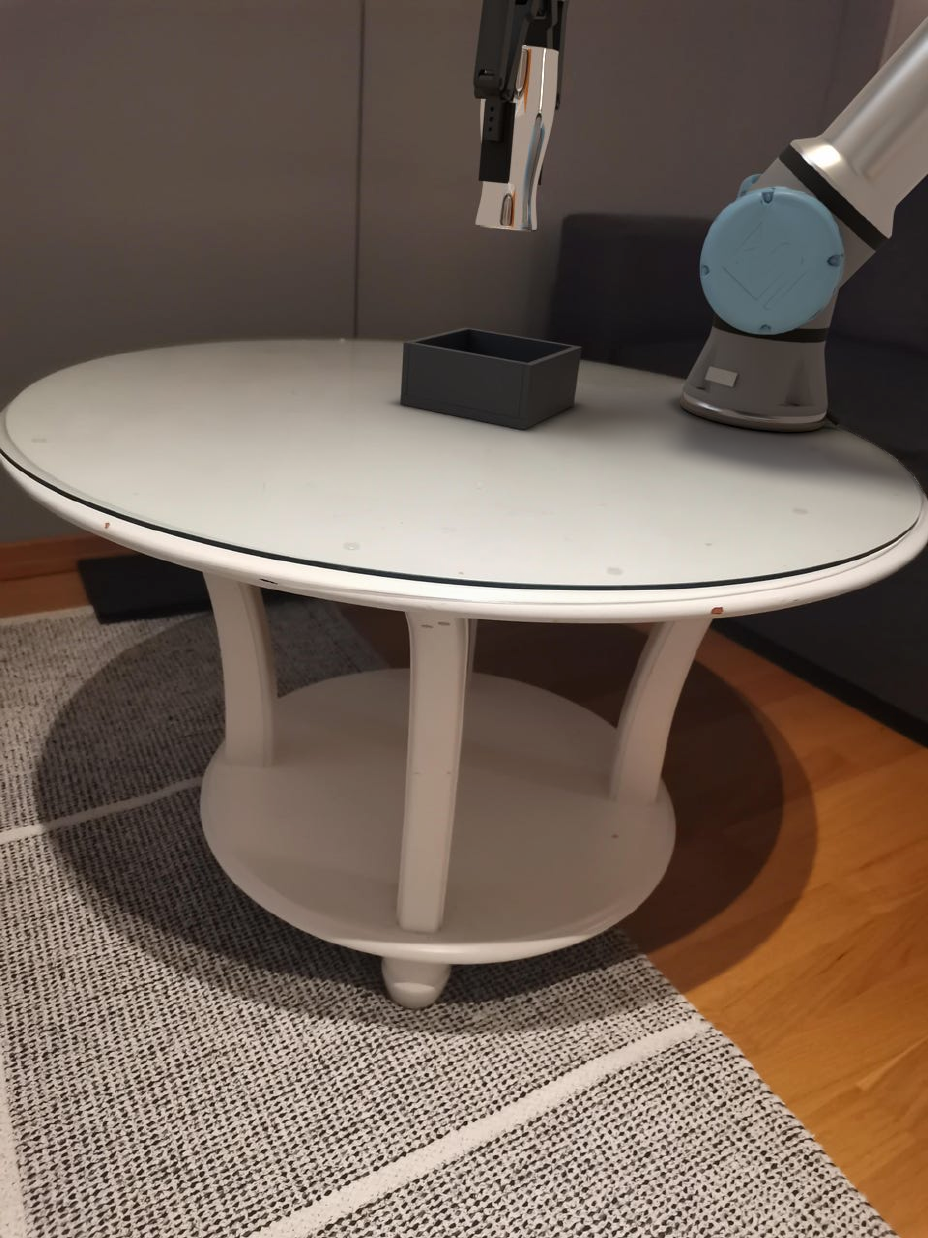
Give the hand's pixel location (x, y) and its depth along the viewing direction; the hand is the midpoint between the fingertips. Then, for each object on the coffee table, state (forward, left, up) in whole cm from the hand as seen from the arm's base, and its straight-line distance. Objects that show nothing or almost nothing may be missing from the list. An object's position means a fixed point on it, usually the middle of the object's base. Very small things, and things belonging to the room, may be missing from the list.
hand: (510, 182), depth 89 cm
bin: (-1, +3, -21) cm, 21 cm away
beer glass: (0, 0, -4) cm, 4 cm away
